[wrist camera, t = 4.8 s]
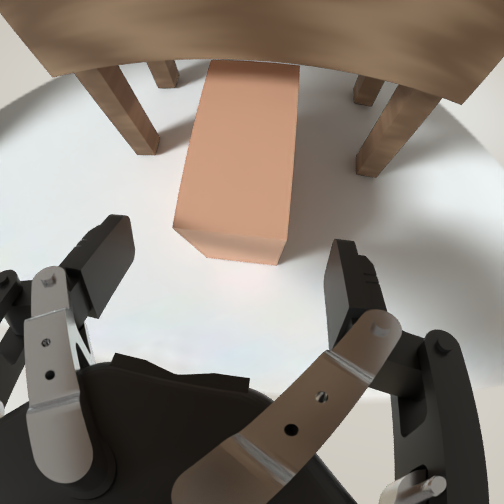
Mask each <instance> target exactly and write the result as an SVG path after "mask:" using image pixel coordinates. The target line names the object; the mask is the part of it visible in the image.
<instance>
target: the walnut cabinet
mask: <svg viewBox="0 0 504 504" xmlns="http://www.w3.org/2000/svg"><path fill="white" fill-rule="evenodd" d="M0 13H1V15H2V16H3V17H4V18H5V20H6V21H7V22H8V23H9V25H10V26H11V27H12V29H13V30H14V31H15V32H16V34H17V35H18V36H19V37H20V38H21V40H22V41H23V42H24V43H25V45H26V46H27V47H28V48H29V49H30V51H31V52H32V53H33V54H34V56H35V57H36V58H37V59H38V60H39V62H40V63H41V64H42V65H43V66H44V68H45V69H46V70H47V71H48V72H49V74H50V75H51V76H52V77H57V76H61V75H65V74H70V73H74V74H75V75H76V77H77V78H78V79H79V81H80V82H81V83H82V85H83V86H84V87H85V88H86V90H87V91H88V92H89V94H90V95H91V96H92V98H93V99H94V100H95V102H96V103H97V104H98V105H99V107H100V108H101V109H102V111H103V112H104V113H105V114H106V116H107V117H108V118H109V120H110V121H111V122H112V123H113V125H114V126H115V127H116V128H117V130H118V131H119V132H120V134H121V135H122V136H123V137H124V139H125V140H126V141H127V142H128V144H129V145H130V146H131V147H132V149H133V150H134V151H135V153H136V154H137V155H156V151H157V147H158V143H159V140H160V137H159V135H158V134H157V132H156V130H155V128H154V127H153V125H152V123H151V122H150V120H149V118H148V116H147V115H146V113H145V111H144V110H143V108H142V106H141V104H140V103H139V101H138V99H137V97H136V96H135V94H134V92H133V91H132V89H131V87H130V85H129V84H128V82H127V80H126V78H125V77H124V75H123V73H122V71H121V70H120V68H119V66H118V65H123V64H131V63H140V62H147V64H148V67H149V69H150V71H151V73H152V75H153V78H154V80H155V82H156V84H157V86H158V88H175V86H176V83H177V80H178V77H179V72H178V70H177V67H176V64H175V61H174V60H183V59H239V60H258V61H271V62H282V63H291V64H300V65H307V66H314V67H321V68H327V69H333V70H339V71H344V72H349V73H354V74H359V76H358V78H357V81H356V83H355V86H354V88H353V94H354V103H358V104H363V105H367V106H372V105H373V103H374V101H375V99H376V97H377V95H378V93H379V91H380V89H381V87H382V85H383V84H384V82H385V81H389V82H393V83H396V84H399V85H398V87H397V88H396V90H395V92H394V94H393V95H392V97H391V99H390V100H389V102H388V104H387V105H386V107H385V109H384V111H383V112H382V114H381V116H380V117H379V119H378V121H377V122H376V124H375V126H374V127H373V129H372V131H371V132H370V134H369V136H368V137H367V139H366V141H365V142H364V144H363V145H362V147H361V149H360V150H359V152H358V154H357V155H356V174H357V175H363V176H369V177H375V178H376V177H377V176H378V175H379V173H380V172H381V171H382V170H383V169H384V168H385V167H386V165H387V164H388V163H389V162H390V161H391V160H392V158H393V157H394V156H395V155H396V154H397V152H398V151H399V150H400V149H401V148H402V147H403V145H404V144H405V143H406V142H407V141H408V139H409V138H410V137H411V136H412V135H413V133H414V132H415V131H416V130H417V129H418V127H419V126H420V125H421V124H422V123H423V121H424V120H425V119H426V118H427V116H428V115H429V114H430V113H431V112H432V110H433V109H434V108H435V107H436V105H437V104H438V103H439V102H440V100H441V99H442V98H444V99H447V100H450V101H452V102H455V103H458V104H460V105H462V104H463V103H464V102H465V100H466V99H467V98H468V97H469V96H470V95H471V94H472V93H473V92H474V90H475V89H476V88H477V87H478V86H479V85H480V84H481V83H482V81H483V80H484V79H485V78H486V77H487V76H488V75H489V73H490V72H491V71H492V70H493V69H494V68H495V66H496V65H497V64H498V63H499V62H500V60H501V59H502V58H503V57H504V0H0Z"/></svg>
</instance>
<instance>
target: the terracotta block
mask: <svg viewBox="0 0 504 504" xmlns="http://www.w3.org/2000/svg"><path fill="white" fill-rule="evenodd" d="M299 72H300V66H298V65H290V64H280V63H269V62H254V61H233V60H211V62H210V65H209V69H208V72H207V76H206V79H205V83H204V87H203V90H202V94H201V98H200V102H199V106H198V109H197V113H196V117H195V121H194V126H193V130H192V134H191V138H190V142H189V147H188V151H187V156H186V160H185V165H184V170H183V175H182V179H181V184H180V189H179V194H178V200H177V205H176V210H175V216H174V222H173V227H172V228H173V229H174V230H175V231H176V232H178V233H179V234H180V235H181V236H182V237H183V238H184V239H186V240H187V241H188V242H189V243H190V244H191V245H193V246H194V247H195V248H196V249H197V250H198V251H199V252H201V253H202V254H203V255H204V256H205V257H206V258H214V259H223V260H232V261H240V262H249V263H258V264H267V265H276V266H277V263H278V261H279V258H280V256H281V253H282V251H283V249H284V246H285V244H286V241H287V234H288V224H289V213H290V202H291V190H292V178H293V165H294V152H295V138H296V124H297V108H298V91H299Z"/></svg>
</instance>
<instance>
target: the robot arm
mask: <svg viewBox="0 0 504 504" xmlns="http://www.w3.org/2000/svg"><path fill="white" fill-rule="evenodd" d="M134 256H135V246H134V241H133V235H132V229H131V222H130V219H129V217H128V216H125V215H113V214H111V215H109V216H108V217H107V218H106V219H105V220H104V221H103V223H102V224H101V225H98V226H97V227H95V228H93V229H92V230H90V231H89V232H88V233H87V234H86V235H85V236H84V237H83V238H82V241H80V242H79V243H78V244H77V246H76V247H74V249H73V250H72V251H71V252H70V253H69V254H68V256H67V257H66V258H65V259H64V260H63V262H62V263H61V264H60V265H59V266H51V267H47V268H45V269H43V270H41V271H40V272H38V273H37V274H36V275H35V277H34V278H33V280H28V281H20V280H19V278H18V276H17V274H16V272H15V271H13V270H6V271H3V272H0V322H1V321H2V319H3V318H4V317H5V319H6V321H7V322H8V324H9V326H10V327H9V329H8V330H7V332H6V334H5V335H4V337H3V339H2V340H1V342H0V504H357V502H356V501H355V500H354V499H353V498H352V497H351V495H350V494H349V493H348V492H347V491H346V489H345V488H344V487H343V486H342V485H341V483H340V482H339V481H338V480H337V479H336V477H335V476H334V475H333V474H332V472H331V471H330V470H329V469H328V467H327V466H326V465H325V464H324V462H323V461H322V460H321V459H320V458H319V456H318V455H317V454H316V452H317V451H318V450H319V449H320V447H321V446H322V445H323V444H324V443H325V442H326V440H327V439H328V438H329V437H330V436H331V434H332V433H333V432H334V431H335V429H336V428H337V427H338V426H339V425H340V423H341V422H342V421H343V420H344V418H345V417H346V416H347V415H348V413H349V412H350V411H351V409H352V408H353V407H354V405H355V404H356V403H357V401H358V400H359V399H360V397H361V396H362V395H363V393H364V392H365V390H366V389H367V388H368V387H370V388H373V389H376V390H379V391H382V392H385V393H389V394H390V395H391V406H392V418H393V435H394V459H395V481H394V482H392V483H391V484H389V485H388V486H387V487H386V488H385V489H384V490H383V492H382V494H381V496H380V500H379V504H489V492H488V481H487V470H486V461H485V455H484V447H483V440H482V434H481V429H480V424H479V418H478V413H477V409H476V405H475V400H474V396H473V391H472V387H471V383H470V380H469V376H468V372H467V369H466V365H465V362H464V358H463V355H462V352H461V348H460V346H459V343H458V342H457V340H456V339H455V338H454V337H453V336H452V335H451V334H449V333H448V332H446V331H443V330H432V331H430V332H429V333H428V334H427V335H426V336H425V338H422V337H419V336H416V335H413V334H410V333H407V332H405V331H403V330H402V328H401V325H400V323H399V321H398V320H397V319H396V318H395V317H394V316H393V315H392V314H390V313H388V312H387V309H386V305H385V302H384V298H383V295H382V291H381V288H380V285H379V281H378V278H377V277H376V272H375V269H374V265H373V264H372V263H371V262H370V260H369V259H368V258H367V257H366V256H363V255H358V252H357V249H356V245H355V242H354V241H349V240H341V239H334V241H333V244H332V247H331V251H330V255H329V259H328V263H327V267H326V270H325V275H324V294H325V304H326V315H327V327H328V340H329V350H326V351H324V352H323V353H322V354H321V355H320V356H319V357H318V358H317V359H316V360H315V361H314V362H313V363H312V365H311V366H310V367H309V368H308V369H307V370H306V371H305V372H304V373H303V374H302V375H301V376H300V377H299V378H298V379H297V380H296V381H295V382H294V383H293V384H292V385H291V386H290V387H289V388H288V389H287V390H286V391H285V392H283V393H282V394H281V395H280V397H278V398H277V399H276V400H275V401H273V400H272V399H270V398H269V397H267V396H266V395H264V394H262V393H260V392H258V391H256V390H253V389H251V388H249V382H250V378H244V377H237V376H230V375H223V374H216V373H210V374H188V375H177V374H173V373H171V372H169V371H167V370H165V369H163V368H161V367H158V366H156V365H154V364H152V363H150V362H148V361H146V360H143V359H139V358H135V357H131V356H126V355H122V354H119V353H115V355H114V357H113V359H112V361H111V362H102V363H97V364H96V362H95V359H94V355H93V351H92V347H91V342H90V338H89V334H88V329H87V325H86V323H85V320H86V318H87V316H89V317H93V318H97V319H99V317H100V315H101V314H102V312H103V310H104V308H105V307H106V305H107V303H108V302H109V300H110V298H111V296H112V295H113V293H114V291H115V290H116V288H117V286H118V285H119V283H120V282H121V280H122V278H123V277H124V275H125V273H126V272H127V270H128V269H129V267H130V265H131V264H132V262H133V260H134ZM24 365H25V366H26V378H27V388H28V397H29V401H28V402H26V403H25V404H23V405H21V406H20V407H18V408H16V409H15V410H13V411H11V412H10V413H8V414H6V415H5V416H4V409H5V406H6V404H7V402H8V399H9V397H10V395H11V393H12V390H13V388H14V386H15V384H16V382H17V380H18V377H19V375H20V373H21V371H22V369H23V367H24Z"/></svg>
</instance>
